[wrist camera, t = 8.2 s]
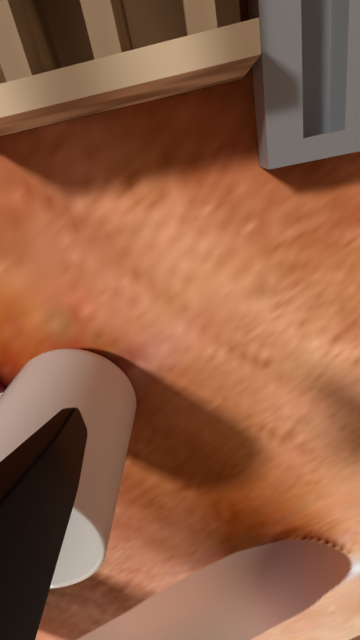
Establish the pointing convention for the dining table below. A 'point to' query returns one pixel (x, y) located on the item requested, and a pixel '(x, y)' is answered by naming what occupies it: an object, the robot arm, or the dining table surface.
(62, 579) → the mug
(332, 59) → the stand
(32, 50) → the rack
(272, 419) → the dining table surface
